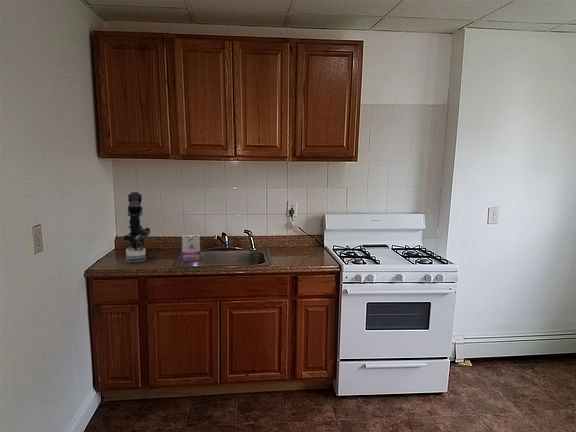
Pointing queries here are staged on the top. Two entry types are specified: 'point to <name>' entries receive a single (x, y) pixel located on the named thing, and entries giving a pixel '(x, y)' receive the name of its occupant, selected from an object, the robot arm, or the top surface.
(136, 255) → the canister
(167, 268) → the top surface
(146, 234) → the robot arm
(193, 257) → the candy bar box
